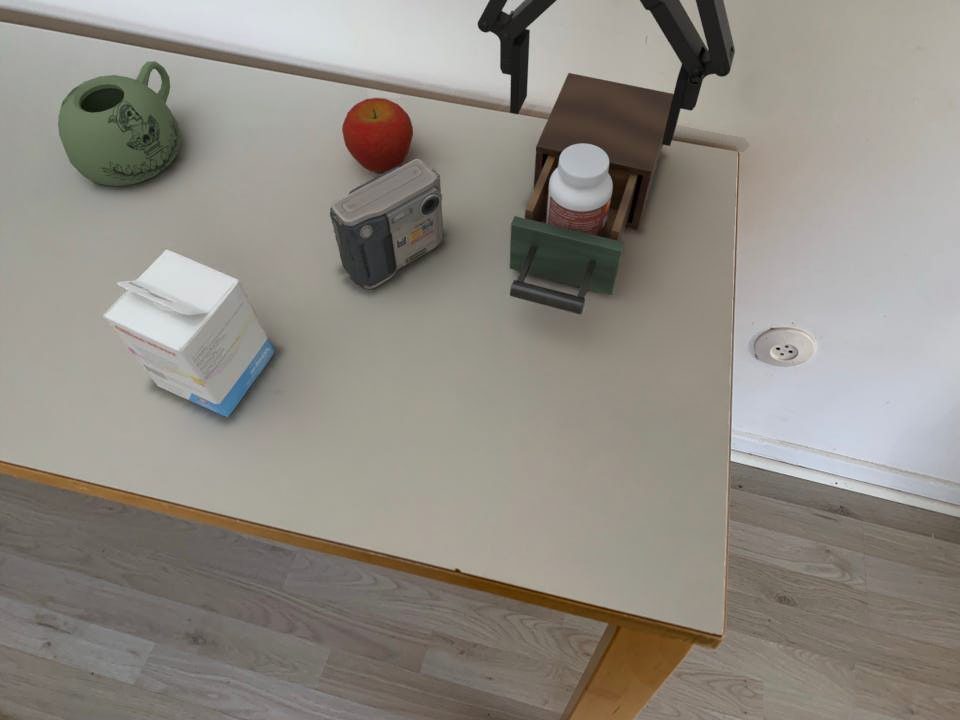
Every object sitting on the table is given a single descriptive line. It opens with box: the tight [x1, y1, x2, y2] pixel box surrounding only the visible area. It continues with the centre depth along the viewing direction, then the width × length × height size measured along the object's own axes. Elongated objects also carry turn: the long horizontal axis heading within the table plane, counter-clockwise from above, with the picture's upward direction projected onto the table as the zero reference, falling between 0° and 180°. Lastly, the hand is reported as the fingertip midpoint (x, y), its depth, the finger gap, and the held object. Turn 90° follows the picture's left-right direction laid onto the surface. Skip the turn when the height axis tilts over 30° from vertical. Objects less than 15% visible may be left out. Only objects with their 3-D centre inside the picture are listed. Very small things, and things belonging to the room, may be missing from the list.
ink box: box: [102, 249, 276, 418], centre depth 66 cm, size 9×8×13 cm
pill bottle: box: [546, 143, 613, 237], centre depth 73 cm, size 6×6×11 cm
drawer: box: [509, 155, 638, 315], centre depth 74 cm, size 18×11×7 cm, turn 161°
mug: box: [57, 60, 182, 187], centre depth 85 cm, size 16×13×9 cm
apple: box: [341, 97, 414, 173], centre depth 84 cm, size 8×8×8 cm
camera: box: [329, 158, 444, 290], centre depth 75 cm, size 11×6×10 cm, turn 126°
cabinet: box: [533, 72, 674, 231], centre depth 81 cm, size 13×12×9 cm
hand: (592, 119), depth 65 cm, fingers open, 13 cm apart
